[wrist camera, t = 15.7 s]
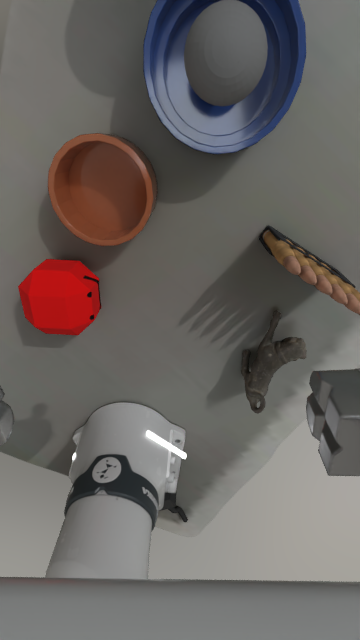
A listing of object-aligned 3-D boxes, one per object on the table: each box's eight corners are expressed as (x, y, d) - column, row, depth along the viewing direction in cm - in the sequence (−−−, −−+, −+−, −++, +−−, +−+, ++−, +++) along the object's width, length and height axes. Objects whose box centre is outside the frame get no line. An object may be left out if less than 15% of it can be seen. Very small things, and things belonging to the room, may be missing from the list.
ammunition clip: (257, 238, 37) (282, 276, 27) (267, 224, 37) (297, 258, 26) (328, 283, 40) (376, 334, 29) (339, 271, 39) (392, 319, 28)
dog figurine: (264, 385, 48) (275, 423, 41) (229, 372, 47) (234, 409, 40) (310, 320, 42) (331, 352, 36) (271, 304, 41) (285, 335, 35)
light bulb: (264, 52, 29) (294, 13, 20) (232, 124, 32) (247, 118, 23) (203, 17, 28) (207, -39, 19) (176, 95, 31) (168, 77, 22)
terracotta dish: (162, 231, 37) (158, 242, 33) (76, 237, 38) (63, 249, 34) (151, 130, 32) (145, 128, 29) (53, 139, 33) (34, 139, 29)
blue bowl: (284, 146, 33) (298, 146, 28) (158, 157, 34) (152, 159, 29) (296, -31, 27) (316, -65, 22) (141, -11, 28) (131, -39, 23)
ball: (106, 314, 43) (90, 345, 36) (47, 311, 43) (20, 342, 37) (101, 256, 39) (82, 279, 32) (36, 252, 39) (4, 275, 33)
